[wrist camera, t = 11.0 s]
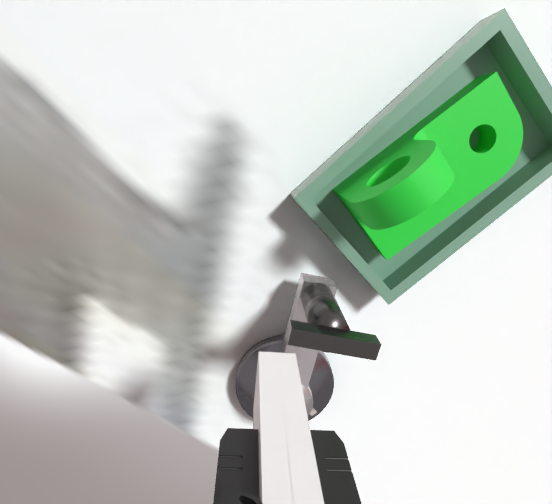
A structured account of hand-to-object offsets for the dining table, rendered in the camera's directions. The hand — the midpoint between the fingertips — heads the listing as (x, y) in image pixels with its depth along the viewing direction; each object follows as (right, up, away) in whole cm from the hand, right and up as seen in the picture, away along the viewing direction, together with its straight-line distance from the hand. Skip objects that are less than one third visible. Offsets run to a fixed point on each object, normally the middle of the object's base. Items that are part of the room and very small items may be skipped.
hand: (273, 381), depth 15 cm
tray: (+11, +11, +12) cm, 19 cm away
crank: (+2, -2, +14) cm, 14 cm away
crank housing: (+1, -5, +16) cm, 17 cm away
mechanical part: (+11, +11, +11) cm, 19 cm away
